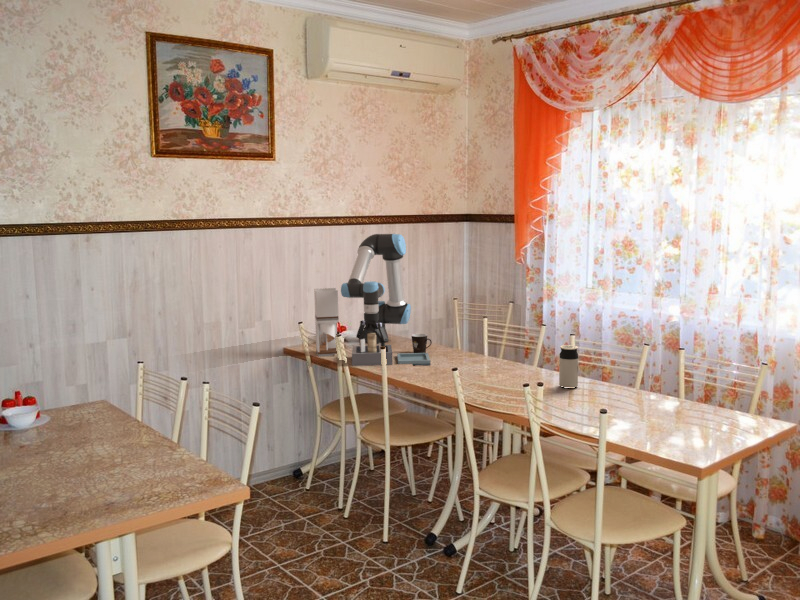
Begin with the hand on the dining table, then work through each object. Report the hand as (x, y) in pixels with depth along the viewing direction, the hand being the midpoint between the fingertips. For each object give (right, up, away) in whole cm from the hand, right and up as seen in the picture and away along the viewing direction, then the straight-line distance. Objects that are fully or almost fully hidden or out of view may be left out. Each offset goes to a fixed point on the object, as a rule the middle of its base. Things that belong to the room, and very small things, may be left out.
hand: (372, 353), depth 384 cm
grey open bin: (0, -5, +1) cm, 5 cm away
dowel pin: (0, -4, +1) cm, 4 cm away
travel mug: (+88, -11, -53) cm, 103 cm away
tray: (+21, -4, +1) cm, 22 cm away
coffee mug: (+25, -2, +19) cm, 32 cm away
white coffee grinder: (-25, -2, +24) cm, 34 cm away
